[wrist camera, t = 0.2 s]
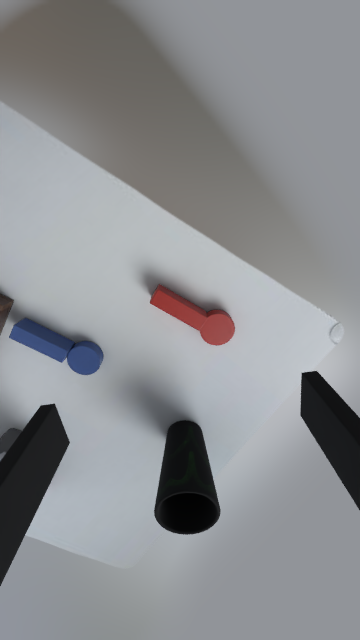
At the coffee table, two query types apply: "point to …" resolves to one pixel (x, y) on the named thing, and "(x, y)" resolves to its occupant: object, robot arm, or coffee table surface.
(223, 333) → the red spoon
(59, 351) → the blue disc-ended stick
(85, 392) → the coffee table surface
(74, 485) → the coffee table surface
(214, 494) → the cup
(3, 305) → the divided sorting tray
